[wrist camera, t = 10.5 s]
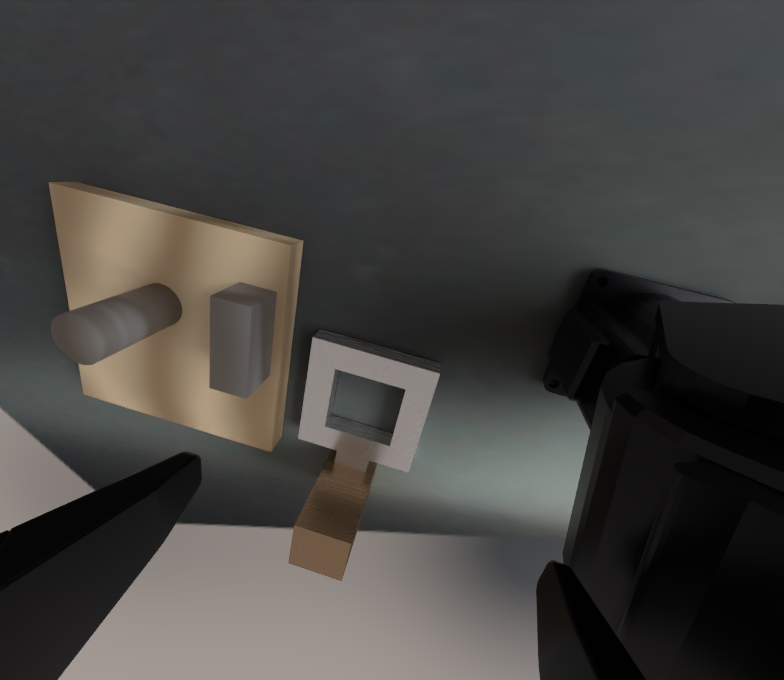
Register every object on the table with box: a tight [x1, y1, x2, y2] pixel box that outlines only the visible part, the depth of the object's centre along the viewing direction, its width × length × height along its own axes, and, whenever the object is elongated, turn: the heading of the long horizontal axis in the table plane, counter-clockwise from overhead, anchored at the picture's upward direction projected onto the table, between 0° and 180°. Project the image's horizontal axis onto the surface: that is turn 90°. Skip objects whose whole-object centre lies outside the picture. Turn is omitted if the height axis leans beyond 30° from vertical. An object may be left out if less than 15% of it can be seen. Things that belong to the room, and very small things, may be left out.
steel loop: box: [289, 329, 442, 581], centre depth 20 cm, size 7×11×6 cm, turn 167°
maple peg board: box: [49, 182, 303, 452], centre depth 20 cm, size 13×13×6 cm
